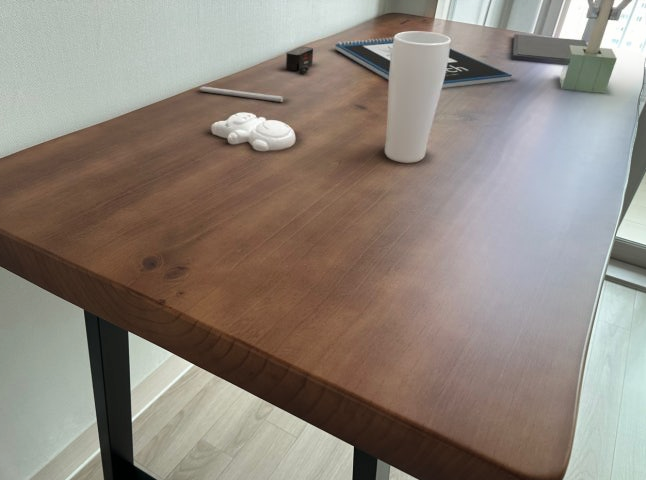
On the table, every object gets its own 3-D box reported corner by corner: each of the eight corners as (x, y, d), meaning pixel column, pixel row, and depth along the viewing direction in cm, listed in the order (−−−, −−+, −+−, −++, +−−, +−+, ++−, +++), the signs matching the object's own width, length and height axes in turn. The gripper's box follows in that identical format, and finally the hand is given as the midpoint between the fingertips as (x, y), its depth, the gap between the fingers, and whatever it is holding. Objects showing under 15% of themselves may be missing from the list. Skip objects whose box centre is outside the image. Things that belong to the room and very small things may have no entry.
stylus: (586, 85, 104) (614, -3, 96) (587, 88, 102) (615, -1, 94) (574, 84, 104) (601, -4, 96) (575, 87, 103) (602, -2, 95)
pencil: (200, 86, 97) (283, 97, 93) (199, 91, 97) (282, 102, 93) (197, 85, 96) (282, 95, 92) (196, 90, 97) (280, 101, 92)
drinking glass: (378, 145, 80) (392, 29, 71) (427, 148, 79) (448, 32, 70) (378, 165, 74) (394, 42, 65) (432, 168, 73) (455, 45, 65)
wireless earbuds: (282, 71, 108) (282, 53, 106) (301, 63, 113) (301, 46, 111) (304, 76, 106) (304, 57, 104) (322, 67, 111) (323, 49, 109)
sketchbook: (409, 94, 99) (411, 82, 98) (332, 51, 121) (333, 41, 120) (510, 81, 105) (513, 69, 104) (419, 42, 128) (421, 33, 127)
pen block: (600, 83, 105) (611, 48, 102) (604, 94, 100) (616, 58, 96) (559, 78, 107) (569, 44, 104) (561, 89, 102) (571, 54, 98)
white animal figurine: (242, 119, 87) (242, 99, 85) (307, 139, 81) (308, 118, 79) (202, 136, 81) (200, 115, 79) (268, 158, 75) (268, 136, 73)
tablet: (583, 45, 129) (585, 39, 128) (592, 68, 113) (594, 62, 112) (513, 39, 132) (514, 33, 132) (512, 60, 117) (513, 54, 116)
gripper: (704, -76, 89) (666, 21, 97) (562, -82, 94) (538, 10, 102) (714, -73, 84) (674, 28, 92) (564, -80, 89) (539, 17, 97)
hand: (601, 18), depth 97 cm, fingers closed on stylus, 2 cm apart
